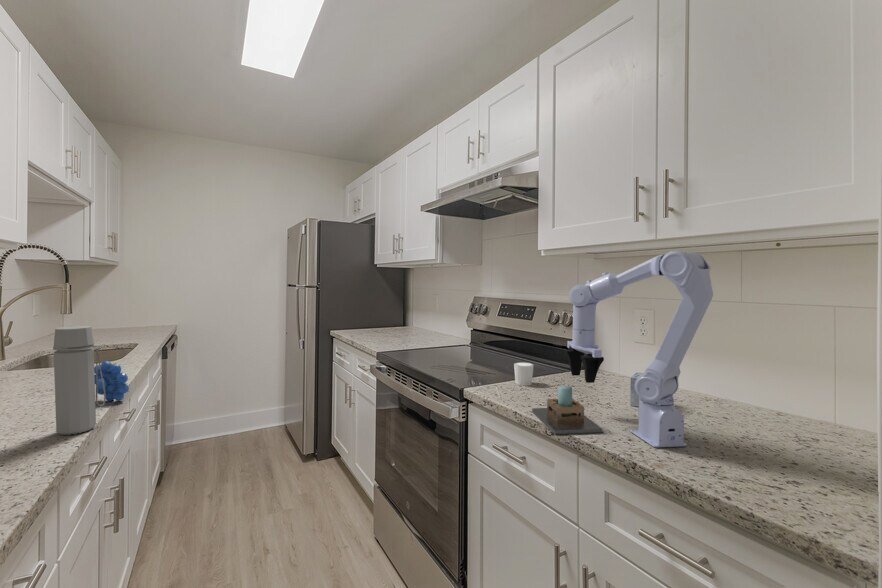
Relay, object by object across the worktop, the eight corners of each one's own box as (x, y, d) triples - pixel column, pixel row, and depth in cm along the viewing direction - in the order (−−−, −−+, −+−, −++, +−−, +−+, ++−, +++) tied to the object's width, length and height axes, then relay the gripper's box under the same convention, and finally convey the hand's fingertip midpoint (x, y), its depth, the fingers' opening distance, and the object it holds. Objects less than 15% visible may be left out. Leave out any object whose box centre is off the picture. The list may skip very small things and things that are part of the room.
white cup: (522, 380, 145) (522, 361, 145) (537, 384, 140) (537, 364, 139) (509, 383, 140) (510, 363, 140) (525, 387, 135) (525, 367, 135)
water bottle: (59, 439, 90) (55, 330, 89) (52, 431, 95) (48, 327, 93) (110, 427, 97) (107, 326, 96) (102, 420, 102) (99, 324, 101)
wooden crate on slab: (602, 432, 96) (602, 411, 96) (554, 434, 95) (555, 413, 94) (573, 410, 112) (573, 392, 112) (532, 411, 110) (532, 393, 110)
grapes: (78, 404, 114) (77, 363, 114) (101, 397, 121) (100, 358, 120) (114, 406, 113) (112, 365, 112) (135, 399, 119) (134, 360, 119)
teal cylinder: (574, 418, 103) (574, 387, 102) (567, 421, 101) (566, 390, 100) (563, 414, 105) (563, 385, 105) (555, 417, 103) (555, 387, 103)
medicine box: (646, 408, 114) (647, 379, 113) (629, 405, 116) (630, 376, 116) (651, 402, 120) (651, 374, 120) (635, 399, 123) (635, 371, 122)
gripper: (612, 332, 100) (611, 385, 101) (583, 325, 115) (582, 371, 115) (587, 333, 99) (586, 386, 100) (561, 326, 114) (560, 372, 114)
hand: (582, 378), depth 108 cm, fingers open, 7 cm apart
